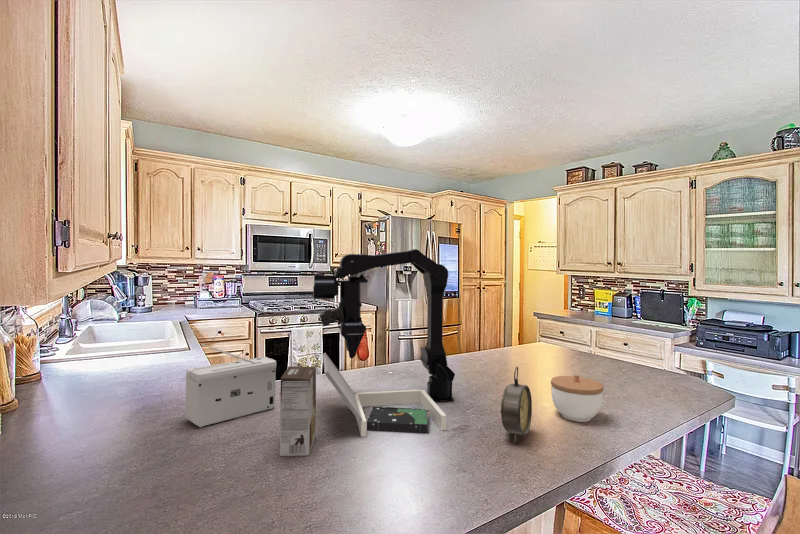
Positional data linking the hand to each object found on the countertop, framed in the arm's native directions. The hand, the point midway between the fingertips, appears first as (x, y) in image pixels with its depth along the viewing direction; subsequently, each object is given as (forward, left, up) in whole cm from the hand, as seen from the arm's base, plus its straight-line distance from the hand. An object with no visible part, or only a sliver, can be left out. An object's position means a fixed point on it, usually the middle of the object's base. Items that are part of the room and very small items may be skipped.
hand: (350, 354), depth 110 cm
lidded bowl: (-58, +19, -14) cm, 63 cm away
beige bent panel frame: (-7, +11, -14) cm, 19 cm away
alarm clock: (-36, +27, -14) cm, 47 cm away
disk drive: (-11, +16, -15) cm, 24 cm away
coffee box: (+13, +23, -14) cm, 30 cm away
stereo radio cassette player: (+30, +2, -14) cm, 33 cm away
